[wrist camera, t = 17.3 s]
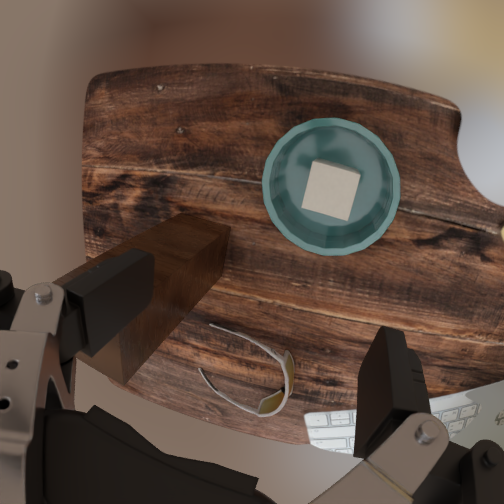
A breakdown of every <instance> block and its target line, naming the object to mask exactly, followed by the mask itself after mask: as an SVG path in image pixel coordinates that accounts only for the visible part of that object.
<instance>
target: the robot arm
mask: <svg viewBox="0 0 504 504" xmlns="http://www.w3.org/2000/svg"><path fill="white" fill-rule="evenodd" d="M154 266H155V258H154V255H153V254H152V253H149V252H146V251H143V250H140V249H137V248H132V249H130V250H128V251H127V252H125V253H123V254H121V255H120V256H117V257H113V258H109V259H106V260H104V261H102V262H100V263H99V264H97V265H96V266H95V267H92V268H90V269H88V271H85V272H83V273H82V274H80V275H78V276H77V277H75V278H73V279H72V280H70V281H68V282H67V283H65V284H64V285H62V286H59V285H57V284H54V283H39V284H35V285H33V286H31V287H29V288H28V289H27V290H26V291H25V290H21V289H17V288H14V287H13V283H12V277H11V275H10V274H9V273H8V272H6V271H1V270H0V504H277V503H275V502H274V501H273V500H272V499H271V498H269V497H268V496H266V495H265V494H263V493H261V492H260V491H258V490H256V489H255V488H256V485H257V482H258V479H259V478H257V477H253V476H250V475H247V474H244V473H241V472H238V471H235V470H232V469H229V468H226V467H223V466H220V465H218V464H215V463H210V462H204V461H198V460H193V459H187V458H182V457H177V456H173V455H168V454H165V453H163V452H161V451H160V450H159V449H158V448H156V447H155V446H154V445H153V444H151V443H150V442H149V441H148V440H146V439H145V438H144V437H143V436H142V435H140V434H139V433H138V432H137V431H136V430H135V429H133V428H132V427H131V426H130V425H129V424H127V423H125V422H123V421H122V420H120V419H118V418H116V417H114V416H113V415H111V414H109V413H108V412H106V411H104V410H103V409H101V408H99V407H97V406H96V405H94V406H93V407H92V408H91V409H90V410H89V411H88V412H87V413H84V412H80V411H76V410H75V405H74V393H75V392H74V391H75V374H76V356H75V354H77V353H78V352H79V351H81V352H83V353H84V354H86V355H88V356H89V357H91V358H92V357H93V356H94V355H95V354H96V353H97V352H99V351H100V350H101V349H102V348H103V347H104V346H105V345H106V344H107V343H108V342H109V341H110V340H112V339H113V338H114V337H115V336H116V335H117V334H118V333H119V332H120V331H121V330H123V329H124V328H125V327H126V326H127V325H128V324H129V323H130V322H131V321H132V320H134V319H135V318H136V317H137V316H138V315H139V314H140V313H141V312H142V311H144V310H145V309H146V308H147V307H148V305H149V304H150V302H151V300H152V296H153V288H154ZM353 456H354V457H358V458H363V459H364V460H362V461H361V462H360V463H359V464H358V465H357V466H355V467H354V468H353V469H352V470H351V471H350V472H348V473H347V474H346V475H345V476H344V477H342V478H341V479H340V480H339V481H337V482H336V483H335V484H334V485H332V486H331V487H330V488H329V489H327V490H326V491H325V492H323V493H322V494H321V495H319V496H318V497H317V498H315V499H314V500H313V501H311V502H310V503H308V504H504V451H503V450H502V448H501V447H500V446H499V445H498V444H496V443H495V442H493V441H491V440H480V441H478V442H477V443H476V444H475V445H474V446H473V447H472V448H471V449H468V448H465V447H463V446H460V445H458V444H456V443H453V442H451V441H449V434H448V431H447V429H446V427H445V425H444V424H443V423H442V422H441V421H440V420H439V419H438V418H436V417H435V416H433V415H431V409H430V403H429V398H428V393H427V388H426V384H425V378H424V374H423V369H422V365H421V361H420V359H419V358H418V356H417V355H416V353H415V352H414V350H413V349H409V348H407V344H406V340H405V335H404V332H403V331H400V330H396V329H393V328H389V327H385V326H381V327H380V329H379V330H378V332H377V334H376V336H375V338H374V340H373V342H372V344H371V346H370V348H369V350H368V352H367V354H366V356H365V358H364V360H363V362H362V365H361V367H360V371H359V375H358V392H357V414H356V430H355V443H354V454H353Z"/></svg>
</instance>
